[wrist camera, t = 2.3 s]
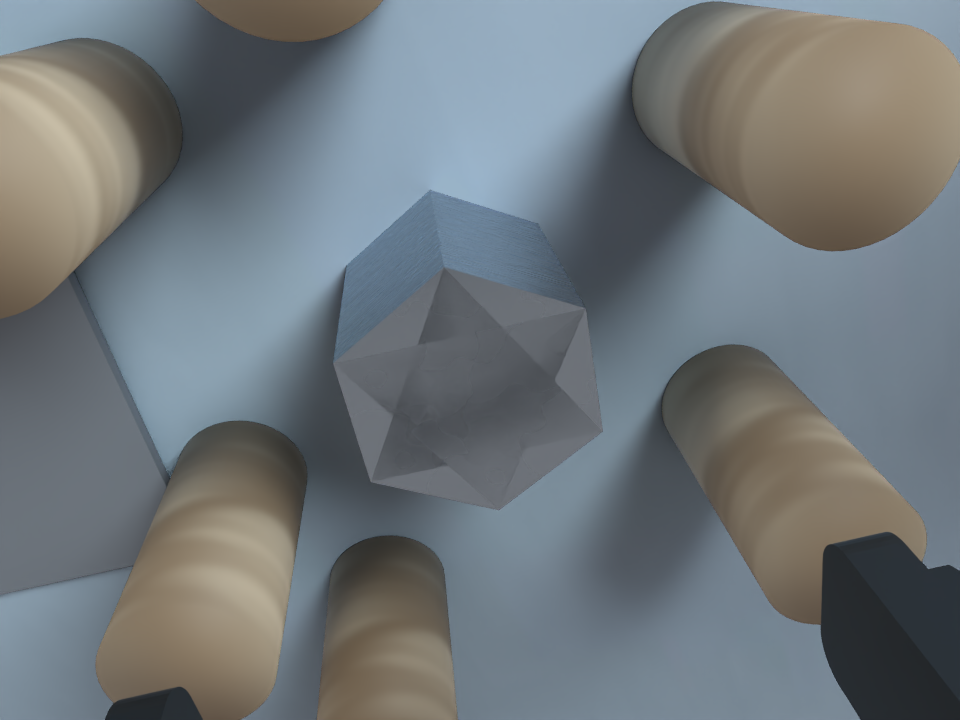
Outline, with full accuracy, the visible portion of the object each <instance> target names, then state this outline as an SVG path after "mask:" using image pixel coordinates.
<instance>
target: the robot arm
mask: <svg viewBox="0 0 960 720" xmlns="http://www.w3.org/2000/svg"><path fill="white" fill-rule="evenodd" d="M821 637H822V643H823V647H824V651H825V655H826V658H827V661H828V663H829V666H830V668H831V670H832V673H833V675H834V677H835V679H836V681H837V682H838V684H839V686H840V687H841V689H842V691H843V692H844V694H845V695H846V697H847V698H848V700H849V702H850V703H851V705H852V706H853V708H854V710H855V711H856V713H857V714H858V716H859V717H860V719H861V720H960V571H959V570H957V569H955V568H953V567H952V566H950V565H946V566H941V567H937V568H932V569H927V567H926V566H925V565H924V564H923V563H922V562H921V561H920V560H919V559H918V557H917V556H916V555H915V554H914V553H913V552H912V551H911V550H910V549H909V547H908V546H907V545H906V544H905V543H904V542H903V541H902V540H901V539H900V538H899V537H898V536H896V535H895V534H893V533H891V532H883V533H878V534H874V535H869V536H865V537H860V538H856V539H851V540H847V541H842V542H838V543H833V544H829V545H827V546H826V547H825V549H824V552H823V563H822V603H821ZM105 720H203V718H202V717H201V715H200V713H199V711H198V709H197V707H196V705H195V703H194V701H193V700H192V698H191V696H190V694H189V693H188V691H187V690H186V689H184V688H183V687H175V688H170V689H166V690H161V691H157V692H152V693H148V694H143V695H139V696H134V697H130V698H125V699H121V700H118V701H116V702H115V703H114V704H113V705H112V706H111V708H110V710H109V711H108V714H107V716H106V718H105Z"/></svg>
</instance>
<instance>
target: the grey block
mask: <svg viewBox="0 0 960 720" xmlns="http://www.w3.org/2000/svg"><path fill="white" fill-rule="evenodd" d="M333 365H334V368H335V371H336V374H337V378H338V381H339V384H340V387H341V390H342V393H343V397H344V400H345V403H346V406H347V409H348V412H349V416H350V419H351V422H352V425H353V428H354V431H355V434H356V438H357V441H358V444H359V447H360V450H361V453H362V457H363V460H364V463H365V466H366V469H367V472H368V476H369V479H370V482H372V483H377V484H381V485H386V486H390V487H395V488H399V489H404V490H409V491H413V492H418V493H422V494H427V495H432V496H436V497H441V498H445V499H450V500H454V501H459V502H464V503H468V504H473V505H477V506H482V507H487V508H491V509H496V510H500V509H501V508H502V507H504V506H505V505H506V504H508V503H509V502H510V501H512V500H513V499H514V498H516V497H517V496H518V495H520V494H521V493H522V492H524V491H525V490H526V489H528V488H529V487H530V486H531V485H533V484H534V483H535V482H537V481H538V480H539V479H541V478H542V477H543V476H545V475H546V474H547V473H549V472H550V471H551V470H553V469H554V468H555V467H557V466H558V465H559V464H561V463H562V462H563V461H564V460H566V459H567V458H568V457H570V456H571V455H572V454H574V453H575V452H576V451H578V450H579V449H580V448H582V447H583V446H584V445H586V444H587V443H588V442H590V441H591V440H592V439H594V438H595V437H596V436H598V435H599V434H600V433H601V432H603V429H602V421H601V414H600V407H599V400H598V393H597V385H596V378H595V371H594V364H593V356H592V349H591V342H590V335H589V328H588V320H587V313H586V308H585V306H584V304H583V302H582V301H581V299H580V297H579V295H578V294H577V292H576V290H575V288H574V287H573V285H572V283H571V281H570V279H569V278H568V276H567V274H566V272H565V271H564V269H563V267H562V265H561V264H560V262H559V260H558V258H557V256H556V255H555V253H554V251H553V249H552V248H551V246H550V244H549V242H548V241H547V239H546V237H545V235H544V233H543V232H542V230H541V228H540V226H539V225H538V224H537V223H534V222H531V221H527V220H524V219H521V218H518V217H515V216H511V215H508V214H505V213H502V212H499V211H496V210H492V209H489V208H486V207H483V206H480V205H476V204H473V203H470V202H467V201H464V200H461V199H457V198H454V197H451V196H448V195H445V194H441V193H438V192H435V191H432V190H430V191H429V192H427V193H426V194H425V195H424V196H423V197H422V198H421V199H420V200H419V201H417V202H416V203H415V204H414V205H413V206H412V207H411V208H410V209H409V210H408V211H406V212H405V213H404V214H403V215H402V216H401V217H400V218H399V219H398V220H396V221H395V222H394V223H393V224H392V225H391V226H390V227H389V228H388V229H386V230H385V231H384V232H383V233H382V234H381V235H380V236H379V237H378V238H377V239H375V240H374V241H373V242H372V243H371V244H370V245H369V246H368V247H367V248H365V249H364V250H363V251H362V252H361V253H360V254H359V255H358V256H357V257H355V258H354V259H353V260H352V261H351V262H350V263H349V264H348V265H347V267H346V274H345V281H344V288H343V295H342V303H341V310H340V317H339V324H338V331H337V339H336V346H335V353H334V360H333Z"/></svg>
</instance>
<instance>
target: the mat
mask: <svg viewBox="0 0 960 720" xmlns="http://www.w3.org/2000/svg"><path fill="white" fill-rule="evenodd" d="M169 481H170V478H169V476H168V474H167V471H166V469H165V467H164V465H163V463H162V461H161V458H160V456H159V454H158V452H157V450H156V448H155V446H154V443H153V441H152V439H151V437H150V435H149V433H148V430H147V428H146V426H145V424H144V422H143V420H142V417H141V415H140V413H139V411H138V409H137V407H136V405H135V402H134V400H133V398H132V396H131V394H130V392H129V389H128V387H127V385H126V383H125V381H124V379H123V377H122V374H121V372H120V370H119V368H118V366H117V364H116V361H115V359H114V357H113V355H112V353H111V351H110V349H109V346H108V344H107V342H106V340H105V338H104V336H103V333H102V331H101V329H100V327H99V325H98V323H97V320H96V318H95V316H94V314H93V312H92V310H91V308H90V305H89V303H88V301H87V299H86V297H85V295H84V292H83V290H82V288H81V286H80V284H79V282H78V280H77V277H76V275H75V273H74V271H73V272H72V273H71V274H70V275H69V276H68V277H67V278H66V279H65V280H64V281H63V282H62V283H61V284H60V285H59V286H58V287H57V288H56V289H55V290H53V291H52V292H51V293H50V294H49V295H48V296H47V297H46V298H45V299H43V300H42V301H41V302H39V303H38V304H36V305H35V306H33V307H31V308H30V309H28V310H25V311H23V312H21V313H19V314H16V315H13V316H9V317H6V318H2V319H0V595H1V594H5V593H10V592H15V591H19V590H24V589H28V588H33V587H37V586H42V585H47V584H51V583H56V582H60V581H65V580H69V579H74V578H79V577H83V576H88V575H92V574H97V573H101V572H106V571H111V570H115V569H120V568H124V567H129V566H133V565H134V564H135V561H136V559H137V557H138V554H139V552H140V550H141V547H142V545H143V542H144V540H145V538H146V535H147V533H148V531H149V528H150V526H151V523H152V521H153V519H154V516H155V514H156V512H157V509H158V507H159V504H160V502H161V500H162V497H163V495H164V493H165V490H166V488H167V486H168V483H169Z"/></svg>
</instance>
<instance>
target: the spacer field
mask: <svg viewBox="0 0 960 720" xmlns="http://www.w3.org/2000/svg"><path fill="white" fill-rule="evenodd" d="M195 1H196V2H197V3H198V4H200V5H201V6H202V7H203V8H204V9H206V10H207V11H208V12H210V13H211V14H212V15H214V16H215V17H216V18H218V19H220V20H221V21H223V22H225V23H227V24H228V25H230V26H232V27H234V28H236V29H238V30H241V31H243V32H245V33H248V34H250V35H254V36H257V37H261V38H264V39H268V40H276V41H283V42H304V41H311V40H318V39H322V38H325V37H329V36H332V35H335V34H337V33H340V32H342V31H344V30H346V29H348V28H350V27H352V26H353V25H355V24H356V23H358V22H360V21H361V20H363V19H364V18H365V17H366V16H368V15H369V14H370V13H371V12H372V11H373V10H375V9H376V8H377V7H378V5H379V4H380V3H381V2H382V1H383V0H195ZM632 102H633V108H634V112H635V116H636V119H637V121H638V123H639V126H640V128H641V129H642V131H643V132H644V134H645V135H646V137H647V138H648V139H649V140H650V141H651V142H652V143H653V144H654V145H655V146H656V147H658V148H659V149H660V150H662V151H663V152H665V153H666V154H668V155H669V156H671V157H672V158H673V159H675V160H676V161H678V162H679V163H681V164H682V165H683V166H685V167H686V168H688V169H689V170H691V171H692V172H694V173H695V174H696V175H698V176H699V177H701V178H702V179H704V180H705V181H706V182H708V183H709V184H711V185H712V186H714V187H715V188H717V189H718V190H719V191H721V192H722V193H724V194H725V195H727V196H728V197H729V198H731V199H732V200H734V201H735V202H737V203H738V204H740V205H741V206H742V207H744V208H745V209H747V210H748V211H750V212H751V213H752V214H754V215H755V216H757V217H758V218H760V219H761V220H763V221H764V222H765V223H767V224H768V225H770V226H771V227H773V228H774V229H775V230H777V231H778V232H780V233H781V234H783V235H784V236H786V237H787V238H789V239H791V240H792V241H794V242H796V243H798V244H800V245H803V246H805V247H809V248H813V249H817V250H824V251H845V250H852V249H857V248H861V247H865V246H868V245H871V244H874V243H876V242H879V241H881V240H884V239H885V238H887V237H889V236H891V235H893V234H895V233H897V232H898V231H900V230H901V229H903V228H904V227H905V226H907V225H908V224H910V223H911V222H912V221H913V220H915V219H916V218H917V217H918V216H919V215H921V214H922V213H923V212H924V211H925V210H926V209H927V208H928V207H929V205H930V204H931V203H932V202H933V201H934V200H935V199H936V197H937V196H938V195H939V194H940V192H941V191H942V190H943V188H944V187H945V185H946V184H947V182H948V181H949V179H950V177H951V176H952V174H953V172H954V170H955V168H956V166H957V164H958V162H959V159H960V64H959V63H958V61H957V59H956V58H955V56H954V54H953V53H952V52H951V51H950V50H949V49H948V48H947V47H946V45H945V44H943V43H942V42H941V41H940V40H938V39H937V38H936V37H935V36H933V35H931V34H929V33H927V32H925V31H924V30H921V29H918V28H915V27H912V26H909V25H903V24H897V23H889V22H881V21H873V20H865V19H857V18H849V17H840V16H832V15H824V14H816V13H808V12H800V11H792V10H784V9H776V8H768V7H760V6H751V5H743V4H735V3H727V2H705V3H700V4H696V5H693V6H690V7H688V8H685V9H683V10H681V11H679V12H678V13H676V14H674V15H673V16H671V17H670V18H669V19H668V20H666V21H665V22H664V23H663V24H662V25H661V26H660V27H659V28H658V29H657V30H656V31H655V32H654V33H653V35H652V36H651V37H650V38H649V40H648V41H647V43H646V45H645V46H644V48H643V50H642V52H641V54H640V56H639V58H638V61H637V64H636V67H635V71H634V76H633V82H632ZM181 147H182V124H181V117H180V114H179V110H178V107H177V105H176V102H175V100H174V98H173V96H172V94H171V92H170V90H169V89H168V87H167V85H166V84H165V83H164V81H163V80H162V79H161V77H160V76H159V75H158V74H157V73H156V72H155V71H154V69H153V68H152V67H150V66H149V65H148V64H147V63H146V62H145V61H144V60H142V59H141V58H139V57H138V56H136V55H135V54H134V53H132V52H130V51H128V50H126V49H124V48H123V47H120V46H118V45H115V44H113V43H110V42H106V41H102V40H97V39H89V38H75V39H68V40H63V41H59V42H55V43H51V44H47V45H43V46H39V47H35V48H30V49H26V50H22V51H18V52H14V53H10V54H6V55H2V56H0V319H2V318H6V317H9V316H13V315H16V314H19V313H21V312H23V311H25V310H28V309H30V308H31V307H33V306H35V305H36V304H38V303H39V302H41V301H42V300H43V299H45V298H46V297H47V296H48V295H49V294H50V293H51V292H52V291H53V290H55V289H56V288H57V287H58V286H59V285H60V284H61V283H62V282H63V281H64V280H65V279H66V278H67V277H68V276H69V275H70V274H71V273H72V272H73V271H74V270H75V269H76V268H77V267H78V266H79V265H80V264H81V263H82V262H83V261H84V260H85V259H86V258H87V257H88V256H89V255H90V254H91V253H92V252H93V251H94V250H95V249H96V248H97V247H98V246H99V245H100V244H101V243H102V242H103V241H104V240H105V239H106V238H107V237H108V236H109V235H110V234H111V233H112V232H114V231H115V230H116V229H117V228H118V227H119V226H120V225H121V224H122V223H123V222H124V221H125V220H126V219H127V218H128V217H129V216H130V215H131V214H132V213H133V212H134V211H135V210H136V209H137V208H138V207H139V206H140V205H141V204H142V203H143V202H144V201H145V200H146V199H147V198H148V197H149V196H150V195H151V194H152V193H153V192H154V191H155V190H156V189H157V188H158V187H159V186H160V185H161V184H162V183H163V182H164V181H165V180H166V179H167V178H168V177H169V175H170V174H171V172H172V171H173V169H174V168H175V166H176V163H177V161H178V159H179V155H180V152H181ZM662 417H663V421H664V424H665V426H666V428H667V430H668V432H669V434H670V435H671V437H672V439H673V440H674V442H675V444H676V445H677V447H678V449H679V450H680V452H681V454H682V456H683V457H684V459H685V461H686V462H687V464H688V466H689V467H690V469H691V471H692V472H693V474H694V476H695V477H696V479H697V481H698V483H699V484H700V486H701V488H702V489H703V491H704V493H705V494H706V496H707V498H708V499H709V501H710V503H711V504H712V506H713V508H714V510H715V511H716V513H717V515H718V516H719V518H720V520H721V521H722V523H723V525H724V526H725V528H726V530H727V531H728V533H729V535H730V536H731V538H732V540H733V542H734V543H735V545H736V547H737V548H738V550H739V552H740V553H741V555H742V557H743V558H744V560H745V562H746V563H747V565H748V567H749V569H750V570H751V572H752V574H753V575H754V577H755V579H756V580H757V582H758V584H759V585H760V587H761V589H762V590H763V592H764V594H765V595H766V597H767V599H768V601H769V602H770V603H771V605H772V606H773V607H774V608H775V609H776V610H777V611H778V612H779V613H781V614H782V615H784V616H785V617H787V618H789V619H792V620H794V621H798V622H801V623H806V624H818V625H821V603H822V563H823V552H824V549H825V547H826V546H827V545H829V544H833V543H838V542H842V541H847V540H851V539H856V538H860V537H865V536H869V535H874V534H878V533H883V532H891V533H893V534H895V535H896V536H898V537H899V538H900V539H901V540H902V541H903V542H904V543H905V544H906V545H907V546H908V547H909V549H910V550H911V551H912V552H913V553H914V554H915V555H916V556H917V557H918V559H919V560H920V561H921V562H922V560H923V557H924V554H925V551H926V545H927V534H926V528H925V525H924V523H923V520H922V519H921V517H920V515H919V514H918V513H917V512H916V511H915V509H914V508H913V507H912V506H911V505H910V504H909V503H908V502H907V501H906V500H905V499H904V498H903V497H902V496H901V495H900V494H899V493H898V492H897V491H896V490H895V489H894V487H893V486H892V485H891V484H890V483H889V482H888V481H887V480H886V479H885V478H884V477H883V476H882V475H881V474H880V473H879V472H878V471H877V470H876V469H875V468H874V467H873V466H872V464H871V463H870V462H869V461H868V460H867V459H866V458H865V457H864V456H863V455H862V454H861V453H860V452H859V451H858V450H857V449H856V448H855V447H854V446H853V445H852V444H851V443H850V442H849V440H848V439H847V438H846V437H845V436H844V435H843V434H842V433H841V432H840V431H839V430H838V429H837V428H836V427H835V426H834V425H833V424H832V423H831V422H830V421H829V420H828V419H827V418H826V416H825V415H824V414H823V413H822V412H821V411H820V410H819V409H818V408H817V407H816V406H815V405H814V404H813V403H812V402H811V401H810V400H809V399H808V398H807V397H806V396H805V395H804V393H803V392H802V391H801V390H800V389H799V388H798V387H797V386H796V385H795V384H794V383H793V382H792V381H791V380H790V379H789V378H788V377H787V376H786V375H785V374H784V373H783V372H782V371H781V369H780V368H779V367H778V366H777V365H776V364H775V363H774V362H773V361H772V360H771V359H770V358H769V357H768V356H767V355H765V354H764V353H763V352H761V351H759V350H757V349H755V348H752V347H748V346H744V345H724V346H718V347H714V348H711V349H708V350H706V351H703V352H701V353H699V354H698V355H696V356H694V357H693V358H691V359H690V360H688V361H687V362H686V363H685V364H684V365H682V366H681V367H680V369H679V370H678V371H677V372H676V373H675V374H674V376H673V377H672V378H671V380H670V382H669V383H668V385H667V388H666V390H665V392H664V396H663V400H662ZM306 485H307V467H306V464H305V461H304V458H303V456H302V454H301V453H300V451H299V449H298V448H297V447H296V446H295V444H294V443H293V442H292V441H291V440H290V439H288V438H287V437H286V436H285V435H283V434H282V433H280V432H279V431H277V430H275V429H273V428H271V427H268V426H266V425H262V424H259V423H255V422H249V421H229V422H223V423H219V424H215V425H212V426H210V427H208V428H206V429H204V430H202V431H200V432H199V433H197V434H196V435H195V436H194V437H192V439H191V440H190V441H189V442H188V443H187V444H186V446H185V447H184V449H183V451H182V453H181V455H180V457H179V459H178V462H177V464H176V467H175V469H174V471H173V474H172V476H171V478H170V481H169V483H168V486H167V488H166V490H165V493H164V495H163V497H162V500H161V502H160V504H159V507H158V509H157V512H156V514H155V516H154V519H153V521H152V523H151V526H150V528H149V531H148V533H147V535H146V538H145V540H144V542H143V545H142V547H141V550H140V552H139V554H138V557H137V559H136V561H135V564H134V566H133V568H132V571H131V573H130V576H129V578H128V580H127V583H126V585H125V587H124V590H123V592H122V595H121V597H120V599H119V602H118V604H117V606H116V609H115V611H114V613H113V616H112V618H111V621H110V623H109V625H108V628H107V630H106V632H105V635H104V637H103V640H102V642H101V644H100V647H99V649H98V653H97V656H96V665H95V666H96V674H97V677H98V681H99V683H100V685H101V687H102V689H103V691H104V692H105V693H106V695H107V696H108V697H109V699H110V700H111V701H112V702H113V703H115V702H116V701H118V700H121V699H125V698H130V697H134V696H139V695H143V694H148V693H152V692H157V691H161V690H166V689H170V688H175V687H183V688H184V689H186V690H187V691H188V693H189V694H190V696H191V698H192V700H193V701H194V703H195V705H196V707H197V709H198V711H199V713H200V715H201V717H202V718H203V720H240V719H242V718H244V717H246V716H248V715H249V714H251V713H252V712H254V711H255V710H256V709H257V708H259V707H260V706H261V705H262V704H263V703H264V702H265V700H266V699H267V698H268V696H269V695H270V693H271V692H272V689H273V687H274V685H275V681H276V676H277V670H278V663H279V657H280V651H281V644H282V638H283V632H284V625H285V619H286V612H287V606H288V600H289V593H290V587H291V581H292V574H293V568H294V562H295V555H296V549H297V542H298V536H299V530H300V523H301V517H302V511H303V504H304V498H305V492H306ZM317 720H458V717H457V706H456V695H455V684H454V673H453V662H452V651H451V640H450V629H449V618H448V607H447V596H446V585H445V574H444V569H443V566H442V563H441V562H440V560H439V558H438V557H437V556H436V554H435V553H434V552H433V551H432V550H431V549H430V548H428V547H427V546H425V545H424V544H422V543H420V542H418V541H415V540H413V539H409V538H406V537H400V536H379V537H373V538H370V539H366V540H364V541H361V542H359V543H357V544H355V545H353V546H352V547H350V548H349V549H347V550H346V551H345V552H344V553H343V554H342V555H341V556H340V557H339V558H338V559H337V561H336V563H335V564H334V566H333V569H332V571H331V576H330V585H329V596H328V606H327V617H326V627H325V638H324V648H323V659H322V669H321V680H320V690H319V701H318V711H317Z"/></svg>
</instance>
